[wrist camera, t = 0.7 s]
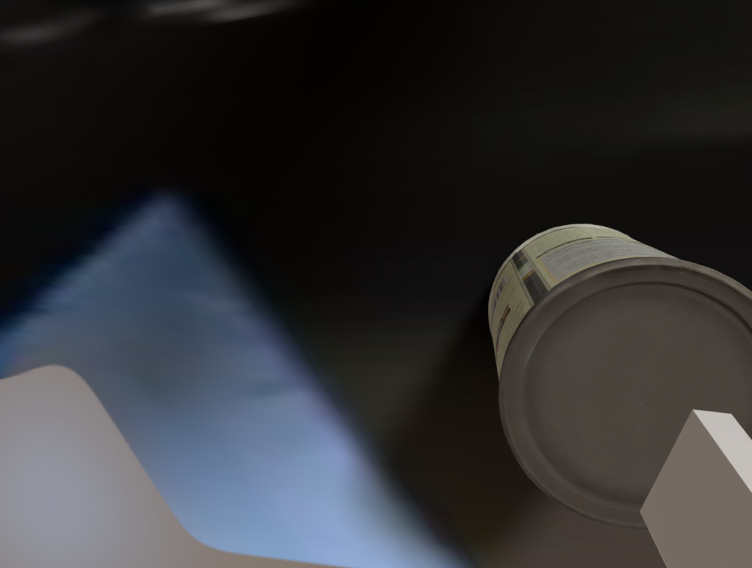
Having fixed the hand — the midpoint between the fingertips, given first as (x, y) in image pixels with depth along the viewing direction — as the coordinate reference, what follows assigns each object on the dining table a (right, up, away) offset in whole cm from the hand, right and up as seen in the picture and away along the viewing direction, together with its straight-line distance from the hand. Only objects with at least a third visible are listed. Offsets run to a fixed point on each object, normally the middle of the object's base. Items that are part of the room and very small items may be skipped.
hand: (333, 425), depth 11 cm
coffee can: (+13, +1, +24) cm, 27 cm away
